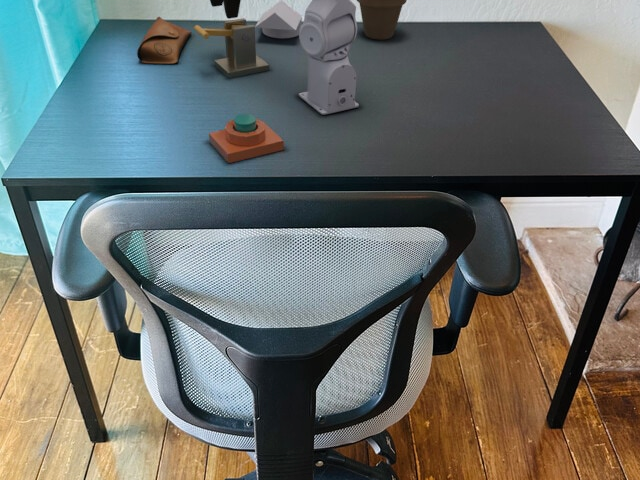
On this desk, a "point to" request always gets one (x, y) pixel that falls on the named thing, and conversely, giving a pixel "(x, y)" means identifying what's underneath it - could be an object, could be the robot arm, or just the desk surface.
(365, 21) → the flower pot
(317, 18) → the robot arm
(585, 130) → the desk surface
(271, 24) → the wedge on round base
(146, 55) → the sunglasses case
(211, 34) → the tap lever
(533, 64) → the desk surface
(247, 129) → the button
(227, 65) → the bracket
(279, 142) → the button block
